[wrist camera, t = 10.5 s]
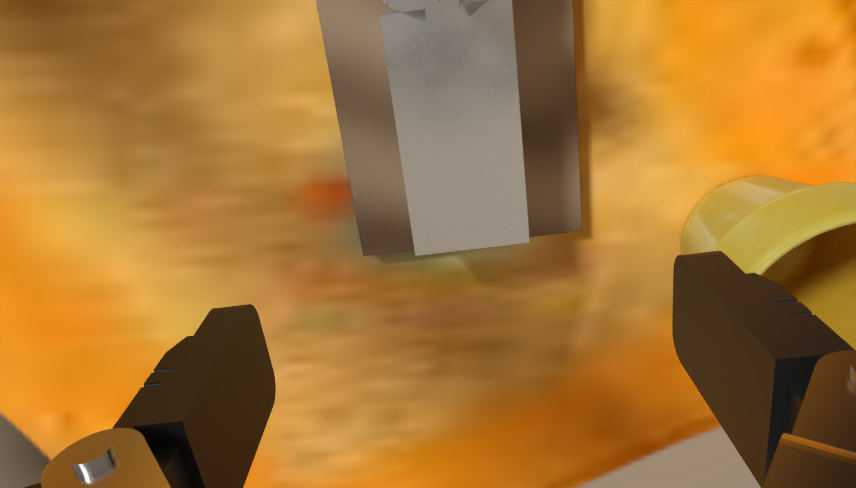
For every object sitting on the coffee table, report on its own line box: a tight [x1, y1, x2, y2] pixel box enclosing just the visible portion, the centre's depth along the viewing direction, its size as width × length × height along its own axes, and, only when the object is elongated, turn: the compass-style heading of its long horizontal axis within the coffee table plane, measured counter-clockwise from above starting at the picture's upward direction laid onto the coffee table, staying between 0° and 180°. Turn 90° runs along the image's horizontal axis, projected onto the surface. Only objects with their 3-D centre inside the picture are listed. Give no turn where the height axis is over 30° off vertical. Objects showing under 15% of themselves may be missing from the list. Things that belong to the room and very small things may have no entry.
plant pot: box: [681, 176, 856, 350], centre depth 28 cm, size 10×10×10 cm
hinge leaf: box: [379, 0, 530, 256], centre depth 27 cm, size 16×6×4 cm, turn 7°
